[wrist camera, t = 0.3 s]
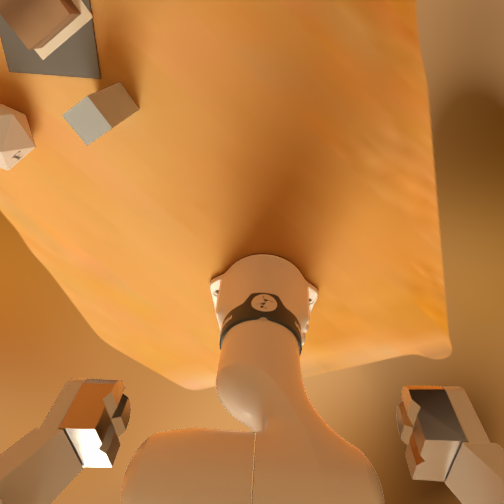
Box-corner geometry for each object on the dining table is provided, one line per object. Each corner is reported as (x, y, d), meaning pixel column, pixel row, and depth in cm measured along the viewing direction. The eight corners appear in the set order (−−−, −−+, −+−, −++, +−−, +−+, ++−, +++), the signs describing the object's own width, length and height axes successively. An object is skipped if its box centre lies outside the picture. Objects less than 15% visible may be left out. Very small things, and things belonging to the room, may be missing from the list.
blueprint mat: (102, 78, 50) (101, 79, 50) (8, 71, 50) (6, 71, 50) (83, -61, 42) (82, -62, 42) (-28, -69, 42) (-30, -70, 42)
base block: (81, 13, 46) (69, 13, 43) (42, 47, 48) (28, 49, 45) (36, -49, 43) (21, -53, 40) (-3, -10, 45) (-20, -11, 42)
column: (139, 109, 52) (112, 128, 43) (117, 124, 53) (87, 145, 45) (119, 81, 50) (87, 95, 42) (97, 98, 51) (62, 115, 43)
